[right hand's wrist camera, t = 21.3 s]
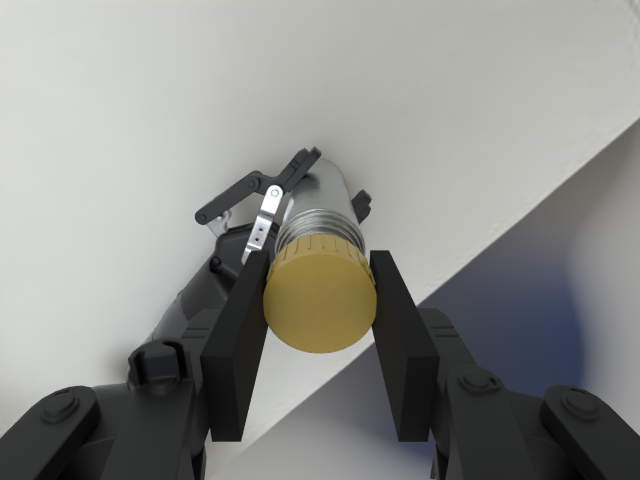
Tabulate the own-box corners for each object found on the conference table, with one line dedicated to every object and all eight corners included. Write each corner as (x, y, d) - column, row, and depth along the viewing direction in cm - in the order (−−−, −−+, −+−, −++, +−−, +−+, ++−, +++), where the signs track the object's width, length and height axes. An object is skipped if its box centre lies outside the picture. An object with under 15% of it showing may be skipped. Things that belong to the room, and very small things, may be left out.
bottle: (287, 191, 34) (239, 314, 14) (311, 150, 32) (298, 219, 12) (327, 214, 35) (338, 364, 14) (352, 175, 33) (403, 279, 13)
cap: (363, 223, 14) (370, 241, 12) (377, 316, 15) (386, 345, 13) (257, 242, 14) (247, 263, 12) (281, 331, 15) (276, 362, 14)
